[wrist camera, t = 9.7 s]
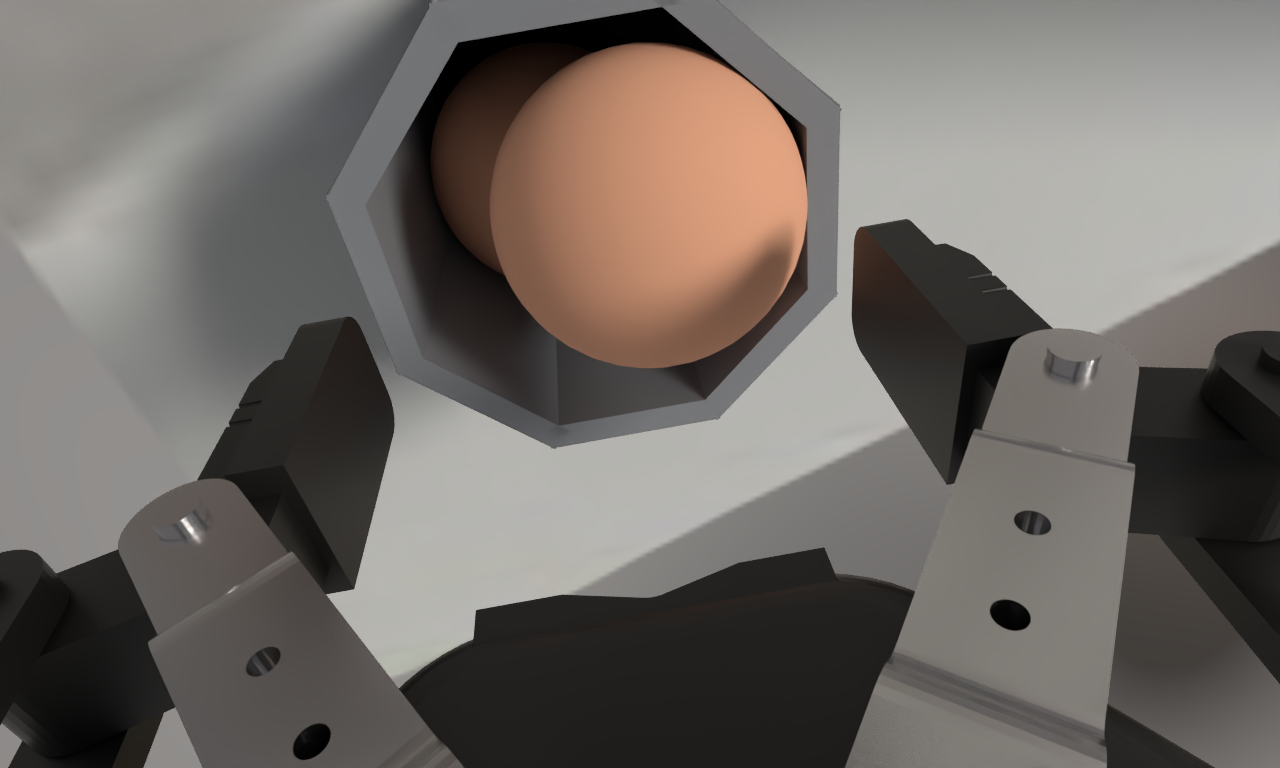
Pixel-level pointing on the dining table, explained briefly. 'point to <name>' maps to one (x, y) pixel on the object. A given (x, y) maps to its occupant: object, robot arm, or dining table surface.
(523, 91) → the ball in tube
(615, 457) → the dining table surface
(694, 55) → the ball
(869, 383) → the dining table surface
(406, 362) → the tube
